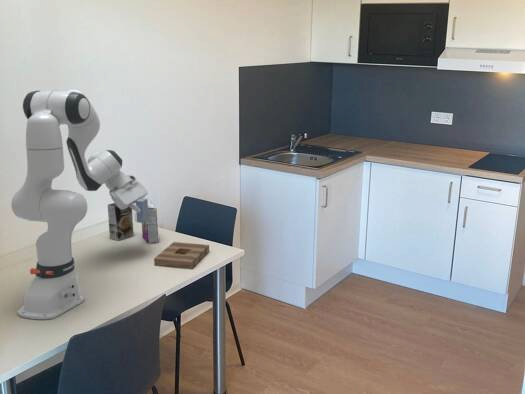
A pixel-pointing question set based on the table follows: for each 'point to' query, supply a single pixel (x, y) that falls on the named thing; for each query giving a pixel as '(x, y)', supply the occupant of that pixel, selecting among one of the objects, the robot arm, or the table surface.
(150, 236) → the candy bar box
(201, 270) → the table surface
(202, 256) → the walnut block
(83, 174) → the robot arm
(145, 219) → the grey post
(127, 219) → the coffee box
